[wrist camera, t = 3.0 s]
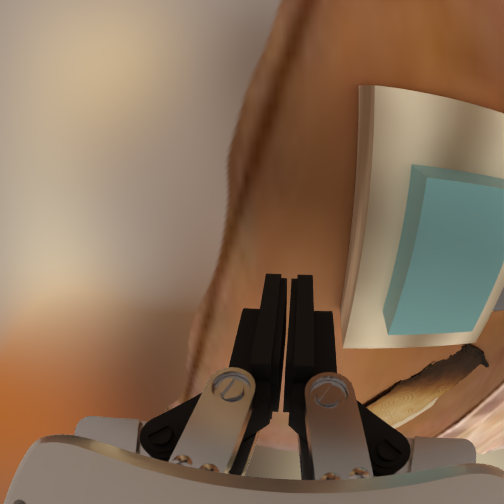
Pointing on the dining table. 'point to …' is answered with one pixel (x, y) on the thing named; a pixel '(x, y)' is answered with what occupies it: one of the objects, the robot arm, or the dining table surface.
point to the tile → (446, 252)
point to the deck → (395, 198)
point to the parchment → (426, 387)
